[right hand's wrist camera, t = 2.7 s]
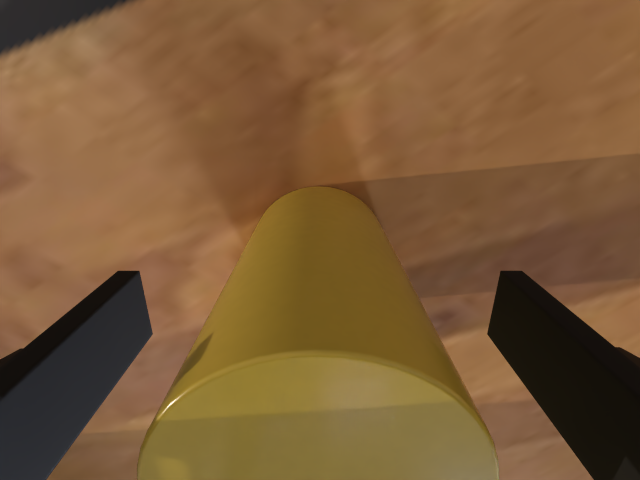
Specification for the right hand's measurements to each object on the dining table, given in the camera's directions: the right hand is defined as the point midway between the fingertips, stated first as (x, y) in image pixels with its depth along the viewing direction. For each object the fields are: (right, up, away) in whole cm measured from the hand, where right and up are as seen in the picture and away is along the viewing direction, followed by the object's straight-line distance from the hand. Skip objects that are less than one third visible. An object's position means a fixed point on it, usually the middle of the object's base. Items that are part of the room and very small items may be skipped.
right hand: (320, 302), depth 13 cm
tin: (0, +2, +5) cm, 6 cm away
